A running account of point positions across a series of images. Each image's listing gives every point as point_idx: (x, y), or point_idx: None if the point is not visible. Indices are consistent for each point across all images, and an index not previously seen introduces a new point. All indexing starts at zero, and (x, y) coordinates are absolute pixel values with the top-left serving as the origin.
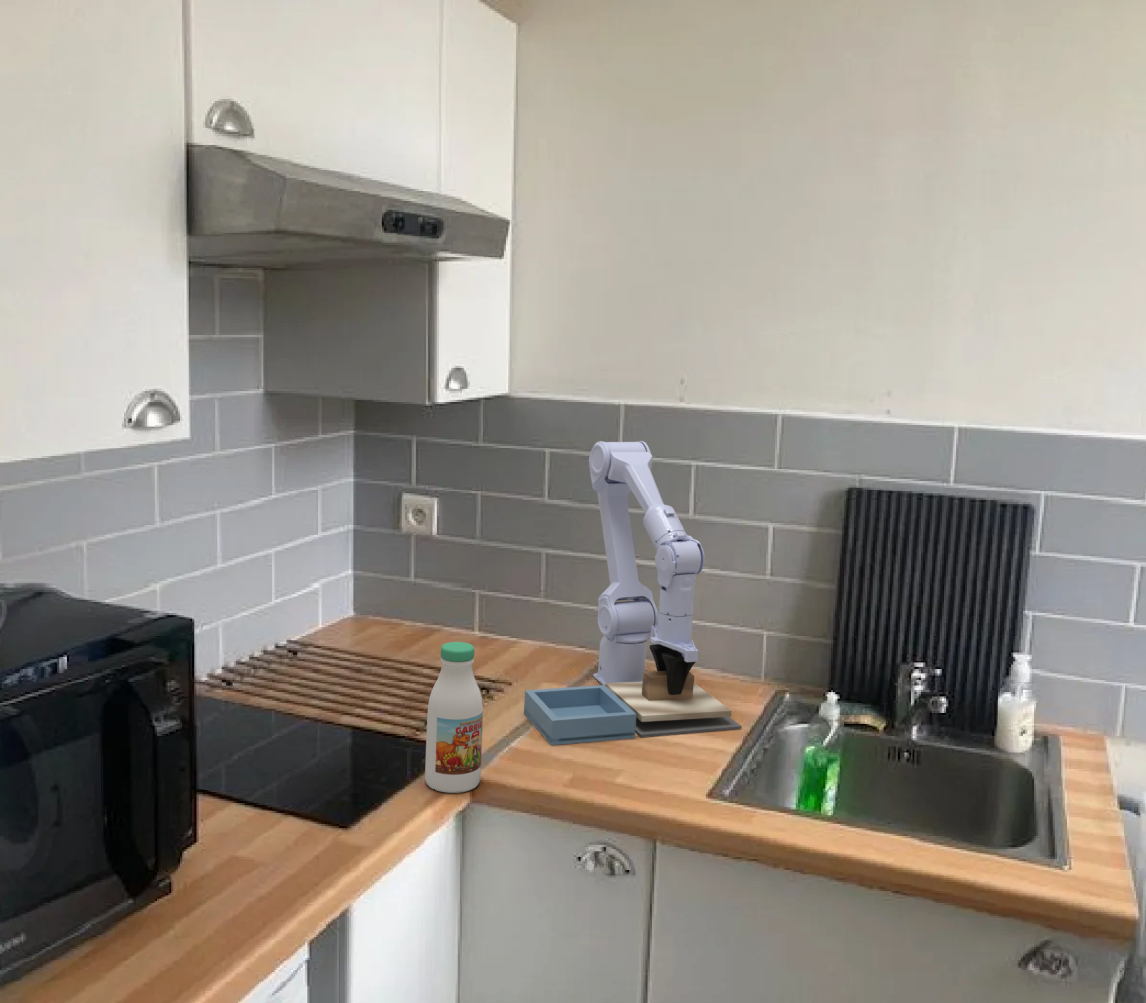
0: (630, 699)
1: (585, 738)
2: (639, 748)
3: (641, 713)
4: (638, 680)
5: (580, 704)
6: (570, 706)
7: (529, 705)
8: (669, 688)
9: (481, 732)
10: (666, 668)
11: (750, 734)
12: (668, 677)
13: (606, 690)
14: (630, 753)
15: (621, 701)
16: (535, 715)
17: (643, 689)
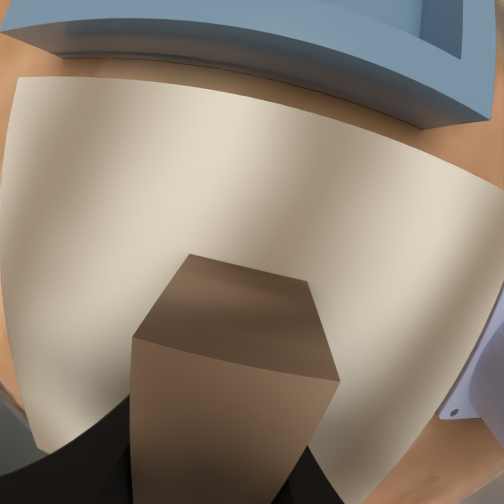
0: (257, 148)
1: None
2: (7, 46)
3: (38, 88)
4: (483, 394)
5: (425, 3)
6: None
7: None
8: (123, 399)
9: None
10: (79, 500)
11: (22, 413)
12: (94, 447)
13: (410, 55)
14: (3, 11)
15: (171, 15)
16: None
17: (289, 294)
